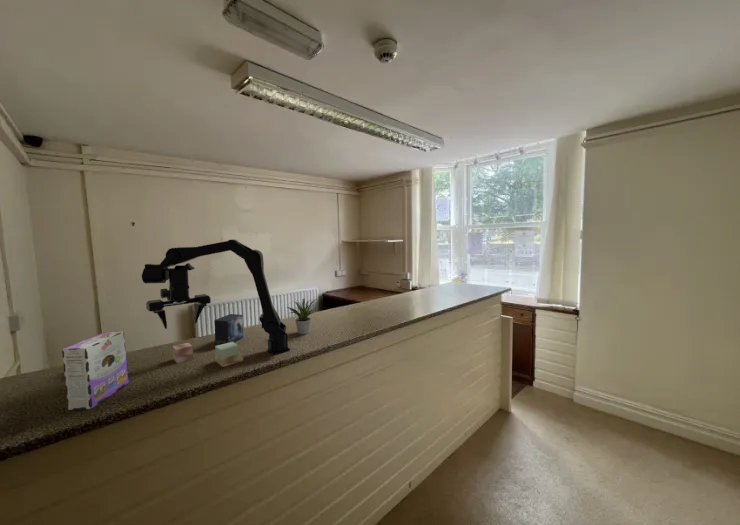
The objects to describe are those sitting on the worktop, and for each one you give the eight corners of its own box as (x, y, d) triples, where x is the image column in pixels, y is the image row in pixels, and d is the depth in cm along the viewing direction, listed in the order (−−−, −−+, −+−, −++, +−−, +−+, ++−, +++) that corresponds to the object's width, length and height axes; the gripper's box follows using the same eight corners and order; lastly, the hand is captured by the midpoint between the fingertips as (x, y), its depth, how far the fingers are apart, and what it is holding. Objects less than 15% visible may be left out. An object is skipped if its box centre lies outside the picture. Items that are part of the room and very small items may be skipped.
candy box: (109, 384, 90) (104, 331, 88) (129, 383, 90) (125, 330, 89) (66, 410, 76) (60, 348, 75) (91, 409, 76) (85, 347, 75)
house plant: (310, 325, 148) (310, 292, 146) (326, 331, 137) (325, 296, 136) (284, 331, 138) (282, 297, 137) (299, 339, 128) (297, 301, 126)
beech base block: (235, 356, 111) (235, 348, 110) (243, 361, 106) (242, 353, 106) (215, 362, 106) (215, 354, 106) (222, 368, 101) (222, 359, 101)
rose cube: (189, 355, 111) (188, 342, 111) (193, 359, 108) (192, 345, 107) (173, 359, 108) (172, 346, 107) (177, 363, 104) (176, 349, 104)
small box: (228, 346, 120) (227, 320, 119) (214, 345, 122) (213, 320, 121) (244, 337, 131) (243, 314, 130) (231, 336, 132) (230, 313, 131)
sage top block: (233, 349, 110) (232, 341, 109) (239, 353, 105) (239, 345, 105) (215, 354, 105) (215, 346, 105) (221, 358, 101) (221, 350, 101)
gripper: (200, 278, 118) (202, 316, 119) (142, 283, 104) (144, 326, 105) (210, 281, 110) (211, 322, 111) (148, 286, 97) (151, 333, 98)
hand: (180, 325), depth 107 cm, fingers open, 9 cm apart
